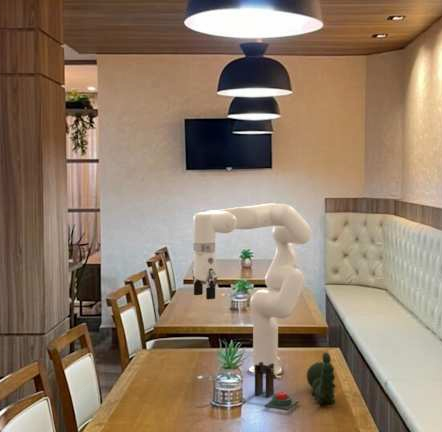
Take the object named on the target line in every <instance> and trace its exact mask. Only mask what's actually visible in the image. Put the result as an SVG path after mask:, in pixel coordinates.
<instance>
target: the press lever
mask: <svg viewBox="0 0 442 432" xmlns="http://www.w3.org/2000/svg"><path fill="white" fill-rule="evenodd" d="M266 366H267V365H261V366H260V370H259V372H260V373H262V374H263V375H266ZM282 380H283V376H281V375H274V381H282Z"/></svg>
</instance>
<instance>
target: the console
mask: <svg viewBox="0 0 442 432" xmlns="http://www.w3.org/2000/svg"><path fill="white" fill-rule="evenodd" d="M298 403H299V400H297V399H292V396H290V395H289V394H287V399H284V400H280V399H277V394H274V395H272V396H271V400H270V401H268V402H267V403H265V404H264V408H269V409H276V410H282V411H289V410H290V409H292V408H293V407H294V406H295V405H297V404H298Z"/></svg>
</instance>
